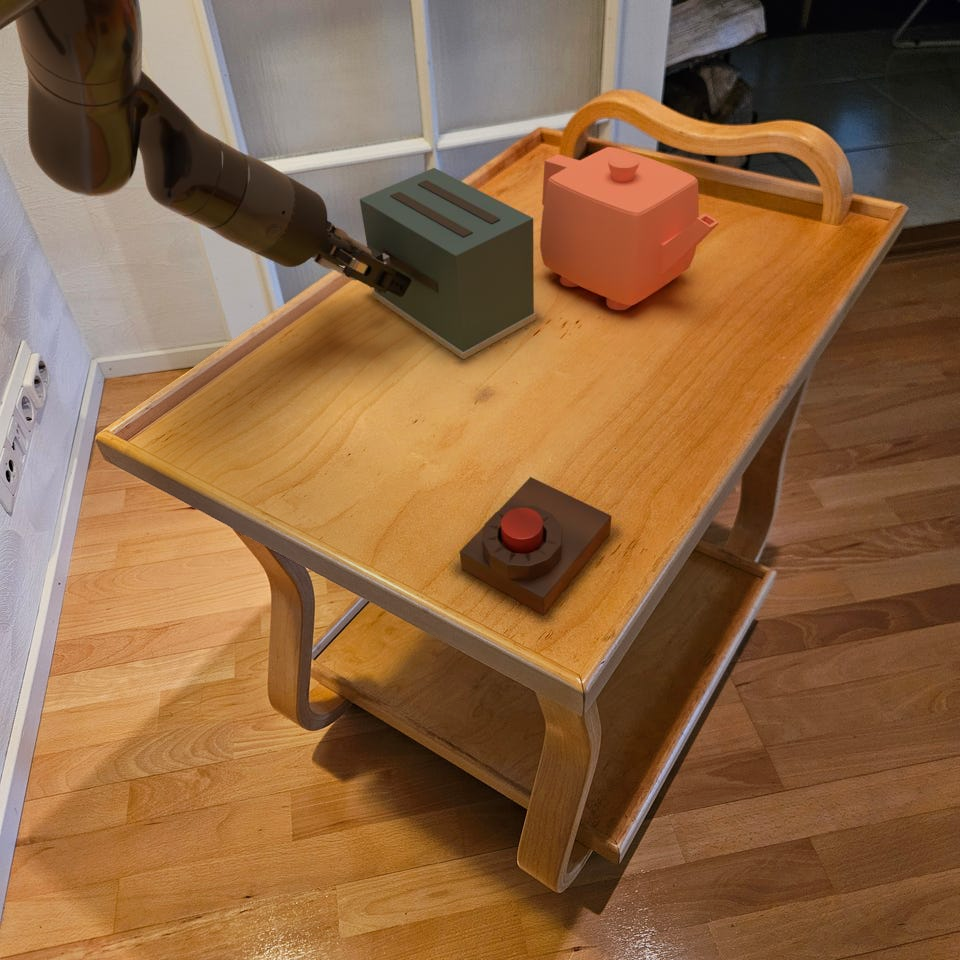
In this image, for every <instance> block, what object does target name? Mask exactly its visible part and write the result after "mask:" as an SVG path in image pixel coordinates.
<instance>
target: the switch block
mask: <svg viewBox="0 0 960 960" xmlns="http://www.w3.org/2000/svg"><path fill="white" fill-rule="evenodd" d="M516 508H528V509H532V510H534V511H536V512H537V513H538V514H539V515H540V516H541V518H542V520H543V541H542V543H541V545H540V546H539V547H538V548H537V549H536V550H534V551H532V552H530V553H515V552H512V551H510V550H508V549H507V548H506V547H505V546H504V544H503V542H502V536H501V520H502V518H503V516H504V515H505V514H506V513H507V512H509V511H510V510H513V509H516ZM612 518H613V517H612V515H611V514H609V513H607V512H605V511H602V510H600V509H598V508H596V507H594V506H592V505H590V504H588V503H586V502H584V501H582V500H579V499H578V498H576V497H573V496H572V495H569V494H567V493H565V492H563V491H561V490H559V489H557V488H554V487H553V486H550V485H549V484H546V483H544V482H542V481H540V480H538V479H536V478H535V477H532V476H530V477H529V478H528V479H527V480H526V481H525V482H524V483H523V484H522V485H521V486H520V487H519V488H518V489H517V491H516V492H515V493H513V494H512V496H510V498H509V499H508V500H507V501H506V502H505V503H504V504H503V506H501V508H499V510H497V511H495V512H494V513H493V515H491V517H490V518H489V519H488V520H487V521H486V522H485V523H484V525H483V526H482V528H480V529H479V530H478V531H477V533H476V534H474V536H472V538H471V539H470V540H469V541H468V542H467V543H466V544H465V545H464V546H463V547H462V548H461V549H460V551H459V559H460V566H461V567H460V568H461V570H463V571H465V572H467V573H468V574H470V575H471V576H473V577H475V578H478V579H479V580H481V581H482V582H484V583H486V584H488V585H490V586H491V587H493V588H495V589H497V590H498V591H500V592H502V593H504V594H506V595H508V596H509V597H511V598H513V599H515V600H516V601H518V602H520V603H521V604H523V605H525V606H526V607H528V608H530V609H532V610H534V611H536V612H538V613H540V614H541V615H543V616H544V615H545V614H546V613H547V611H549V609H550V608H551V607H552V605H553V604H554V603H555V602H556V600H557V599H558V598H559V597H560V596H561V594H562V593H563V592H564V591H565V589H566V588H567V587H568V586H569V584H570V583H571V582H572V581H573V580H574V578H575V577H576V576H577V575H578V573H579V572H580V571H581V570H582V568H583V567H584V566H585V564H586V563H587V562H588V561H589V560H590V559H591V557H592V556H593V555H594V554H595V552H596V551H597V550H598V549H599V547H600V546H601V545H602V544H603V543H604V541H605V540H606V539H607V537H608V536H609V535H610V534H611V527H612Z"/></svg>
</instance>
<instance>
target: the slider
mask: <svg viewBox="0 0 960 960" xmlns="http://www.w3.org/2000/svg"><path fill="white" fill-rule="evenodd" d="M366 247H368V248H369V249H370V250H371V252H372V256H373V257H375V258H377V259H378V260H380V261H382V262H384V261H385V262H386V263H388V265H391V264H390V257H389V256H388V255H386V254H385V253H383V254H382V253H380V252H379V251H377V250H376V249H374V248H373V247H371V246H367V245H366ZM365 285H366V286H368V287H369V288H371V289H373V287H371V286H369V285H367V284H365Z"/></svg>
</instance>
